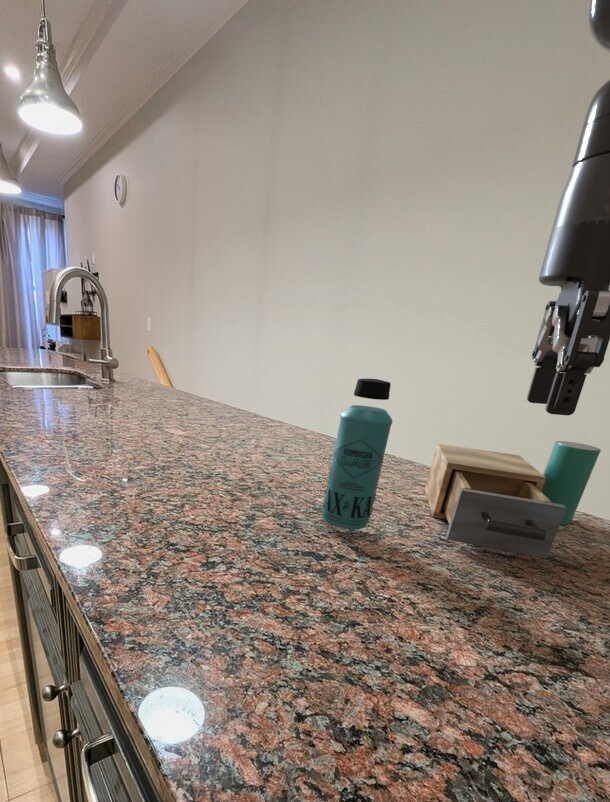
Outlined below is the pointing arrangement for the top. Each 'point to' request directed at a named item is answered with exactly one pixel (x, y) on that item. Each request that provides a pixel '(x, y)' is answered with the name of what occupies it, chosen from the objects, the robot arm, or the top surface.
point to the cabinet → (477, 463)
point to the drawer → (501, 513)
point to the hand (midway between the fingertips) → (547, 408)
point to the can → (568, 474)
